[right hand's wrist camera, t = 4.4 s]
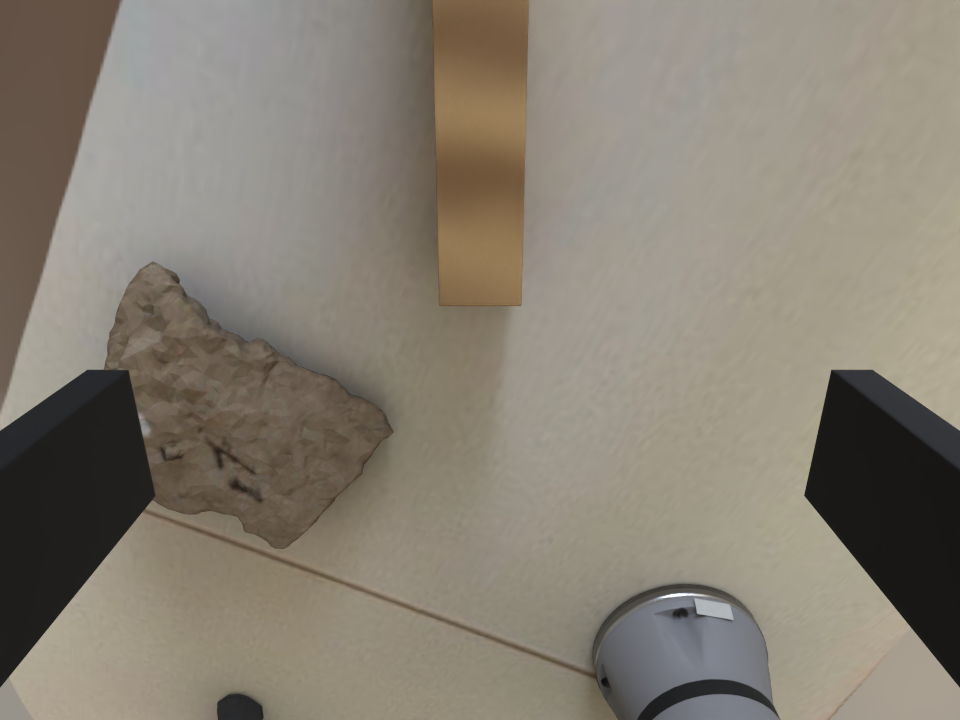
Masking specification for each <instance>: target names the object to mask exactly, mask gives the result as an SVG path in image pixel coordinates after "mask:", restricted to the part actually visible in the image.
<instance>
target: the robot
mask: <svg viewBox="0 0 960 720" xmlns="http://www.w3.org/2000/svg"><path fill="white" fill-rule="evenodd" d="M217 705H218V707H217V714H218V720H263V711H262V706H261V705H259V704H258V703H256V702H255V701H253V700H252V699H250V698H249V697H246V696H243V695H228V696H226V697H225V698H223V699H222V700H220V701H219V702H218V704H217Z"/></svg>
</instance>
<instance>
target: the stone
mask: <svg viewBox="0 0 960 720" xmlns="http://www.w3.org/2000/svg"><path fill="white" fill-rule="evenodd" d="M179 281H180V279H179V278H178V276H177V274H176V273H174V272H172V271H170V270H168V269H165V268H163V267H162V266H160V265H159V264H157V263H155V262H152V263H150V264H148V265H147V266H145V267H143V268H142V269H140V270H139V272H138V273H137V275H136V276H135V277H134V279H133V280H132V281H131V282H130V283H129V285H128V287H127V289H126V291H125V294H124V296H123V298H122V300H121V302H120V305H119V307H118V310H117V313H116V319H115V324H114V327H113V328H112V330H111V331H110V335H109V341H108V344H107V347H108V356H107V359H106V362H105V367H104V370H129V374H130V379H131V384H132V388H133V393H134V398H135V402H136V407H137V411H138V416H139V421H140V425H141V430H142V435H143V439H144V444H145V449H146V453H147V458H148V462H149V467H150V472H151V476H152V481H153V486H154V490H155V495H156V496H155V497H154V498H153V499H152V500H153V501H155V502H157V503H158V504H160V505H162V506H164V507H165V508H167V509H170V510H174V511H177V512H180V513H183V514H189V515H190V514H198V513H200V512H204V511H215V512H218V513H221V514H230V515H234V516H236V517H238V518H239V519H240V521H241V522H242V524H243V528H244V531H245V532H247V533H251V534H255V535H257V536H259V537H261V538H262V539H264V540H266V541H267V542H268V543H269V544H270V545H271V546H272V547H273V548H277V549H284V548H286V547H288V546H289V545H290V544H291V543H292V542H294V541H295V540H297V539H298V538H299V537H300V536H301V535H302V534H304V533H305V532H306V531H307V530H308V529H309V528H310V527H311V526H312V525H313V524H314V523H315V522H316V521H317V519H318V518H319V516H320V515H321V514H322V513H323V512H324V511H325V510H326V509H327V508H328V507H329V506H330V505H331V504H332V503H333V502H334V500H335V498H336V497H337V496H338V495H339V494H340V493H341V492H342V491H344V490H345V489H346V488H347V487H348V486H349V485H350V484H351V483H352V482H353V481H354V480H355V479H357V478H358V477H359V476H360V475H361V474H362V471H363V467H364V464H365V463H366V462H367V460H368V459H369V458H370V457H371V455H372V453H373V451H374V450H375V449H376V448H377V446H378V445H379V443H380V442H381V441H382V439H385V438H388V437H389V436H390V435H391V434H392V433H393V430H392V428H391V426H390V424H389V423H388V420H387V417H386V415H385V414H384V413H383V411H382V410H381V409H379V408H378V407H377V406H376V405H375V404H373V403H371V402H368V401H366V400H364V399H363V398H360V397H357V396H352V395H350V394H349V393H348V392H347V390H346V389H345V388H344V387H342V386H341V385H340V384H339V383H338V382H337V381H336V379H334V378H332V377H329V376H326V375H322V374H318V373H316V372H313V371H310V370H307V369H305V368H303V367H299V366H298V365H297V364H296V363H295V362H294V361H293V360H292V359H291V358H289V357H286V356H284V355H281V354H280V353H279V352H277V351H276V350H275V349H274V348H272V347H271V346H270V345H269V344H268V342H266V341H264V340H263V339H260V338H257V339H255V340H253V341H251V342H246V341H244V340H243V339H242V338H241V337H240V336H239V335H236V334H233V333H229V332H227V331H226V330H225V329H222V328H221V327H220V325H219V324H218V322H216V321H214V320H212V319H209V317H208V315H207V311H206V309H205V308H204V307H203V306H202V305H201V304H200V303H199V302H198V301H197V300H195V299H193V298H191V297H189V296H188V295H187V294H186V293H185V291H184V289H183V288H182V287H181V285H180V284H179Z"/></svg>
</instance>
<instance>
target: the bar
mask: <svg viewBox="0 0 960 720" xmlns="http://www.w3.org/2000/svg"><path fill="white" fill-rule="evenodd" d="M528 11H529V0H432V19H433V62H434V104H435V146H436V188H437V230H438V272H439V305H440V306H521V301H522V260H523V218H524V177H525V135H526V94H527V52H528Z"/></svg>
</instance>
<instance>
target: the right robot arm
mask: <svg viewBox="0 0 960 720" xmlns="http://www.w3.org/2000/svg"><path fill="white" fill-rule="evenodd" d="M155 496H156V495H155V490H154V486H153V481H152V476H151V472H150V467H149V462H148V458H147V453H146V449H145V444H144V439H143V435H142V430H141V425H140V421H139V416H138V411H137V407H136V402H135V398H134V393H133V388H132V384H131V379H130V374H129V370H87V371H85V372H84V373H82V374H81V375H80V376H78V377H77V378H75V379H74V380H72V381H71V382H70V383H68V384H67V385H65V386H64V387H62V388H61V389H60V390H58V391H57V392H55V393H54V394H52V395H51V396H50V397H48V398H47V399H45V400H44V401H42V402H41V403H40V404H38V405H37V406H35V407H34V408H32V409H31V410H30V411H28V412H27V413H25V414H24V415H22V416H21V417H20V418H18V419H17V420H15V421H14V422H12V423H11V424H10V425H8V426H7V427H5V428H4V429H2V430H1V431H0V687H1V686H2V685H3V683H4V682H5V681H6V680H7V678H8V677H9V676H10V675H11V674H12V672H13V671H14V670H15V669H16V667H17V666H18V665H19V664H20V662H21V661H22V660H23V659H24V657H25V656H26V655H27V654H28V653H29V651H30V650H31V649H32V648H33V646H34V645H35V644H36V643H37V641H38V640H39V639H40V638H41V636H42V635H43V634H44V633H45V632H46V630H47V629H48V628H49V627H50V625H51V624H52V623H53V622H54V620H55V619H56V618H57V617H58V615H59V614H60V613H61V612H62V611H63V609H64V608H65V607H66V606H67V604H68V603H69V602H70V601H71V599H72V598H73V597H74V596H75V595H76V593H77V592H78V591H79V590H80V588H81V587H82V586H83V585H84V583H85V582H86V581H87V580H88V578H89V577H90V576H91V575H92V574H93V572H94V571H95V570H96V569H97V567H98V566H99V565H100V564H101V562H102V561H103V560H104V559H105V557H106V556H107V555H108V554H109V553H110V551H111V550H112V549H113V548H114V546H115V545H116V544H117V543H118V541H119V540H120V539H121V538H122V536H123V535H124V534H125V533H126V532H127V530H128V529H129V528H130V527H131V525H132V524H133V523H134V522H135V520H136V519H137V518H138V517H139V516H140V514H141V513H142V512H143V511H144V509H145V508H146V507H147V506H148V504H149V503H150V502H151V501H152V499H153V498H154V497H155ZM804 496H805V497H806V498H807V499H808V501H809V502H810V503H811V504H812V506H813V507H814V508H815V509H816V511H817V512H818V513H819V514H820V516H821V517H822V518H823V519H824V520H825V522H826V523H827V524H828V525H829V527H830V528H831V529H832V530H833V532H834V533H835V534H836V535H837V536H838V538H839V539H840V540H841V541H842V543H843V544H844V545H845V546H846V548H847V549H848V550H849V551H850V553H851V554H852V555H853V556H854V557H855V559H856V560H857V561H858V562H859V564H860V565H861V566H862V567H863V569H864V570H865V571H866V572H867V574H868V575H869V576H870V577H871V578H872V580H873V581H874V582H875V583H876V585H877V586H878V587H879V588H880V590H881V591H882V592H883V593H884V595H885V596H886V597H887V598H888V599H889V601H890V602H891V603H892V604H893V606H894V607H895V608H896V609H897V611H898V612H899V613H900V614H901V615H902V617H903V618H904V619H905V620H906V622H907V623H908V624H909V625H910V627H911V628H912V629H913V630H914V632H915V633H916V634H917V635H918V636H919V638H920V639H921V640H922V641H923V643H924V644H925V645H926V646H927V647H928V649H929V650H930V651H931V653H932V654H933V655H934V656H935V657H936V659H937V660H938V661H939V662H940V664H941V665H942V666H943V667H944V669H945V670H946V671H947V672H948V673H949V675H950V676H951V677H952V678H953V680H954V681H955V682H956V683H957V685H958V686H959V687H960V431H959V430H958V429H956V428H955V427H953V426H952V425H950V424H949V423H948V422H946V421H945V420H943V419H942V418H940V417H939V416H938V415H936V414H935V413H933V412H932V411H930V410H929V409H928V408H926V407H925V406H923V405H922V404H920V403H919V402H918V401H916V400H915V399H913V398H912V397H910V396H909V395H908V394H906V393H905V392H903V391H902V390H900V389H899V388H898V387H896V386H895V385H893V384H892V383H890V382H889V381H888V380H886V379H885V378H883V377H882V376H880V375H879V374H878V373H876V372H875V371H873V370H831V374H830V379H829V384H828V388H827V393H826V398H825V402H824V407H823V411H822V416H821V421H820V425H819V430H818V435H817V439H816V444H815V449H814V453H813V458H812V462H811V467H810V472H809V476H808V481H807V486H806V490H805V495H804ZM593 663H594V668H595V673H596V678H597V682H598V685H599V688H600V690H601V692H602V694H603V696H604V698H605V699H606V701H607V703H608V704H609V706H610V707H611V709H612V710H613V712H614V714H615V715H616V717H617V718H618V720H780V718H779V716H778V714H777V712H776V710H775V707H774V705H773V700H772V691H771V682H770V674H769V668H768V652H767V647H766V642H765V639H764V636H763V634H762V632H761V630H760V628H759V626H758V624H757V623H756V621H755V619H754V617H753V615H752V614H751V612H750V611H749V610H748V609H747V608H746V607H745V606H744V605H743V604H742V603H741V602H740V601H739V600H737V599H736V598H734V597H733V596H731V595H729V594H727V593H725V592H723V591H720V590H717V589H715V588H711V587H707V586H701V585H691V584H679V585H670V586H664V587H659V588H655V589H652V590H649V591H646V592H644V593H641V594H639V595H637V596H635V597H633V598H631V599H630V600H628V601H626V602H625V603H623V604H622V605H621V606H619V607H618V608H617V609H616V610H615V611H614V612H612V614H611V615H610V616H609V617H608V618H607V619H606V620H605V622H604V623H603V625H602V626H601V628H600V630H599V632H598V634H597V636H596V639H595V642H594V647H593Z"/></svg>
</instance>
